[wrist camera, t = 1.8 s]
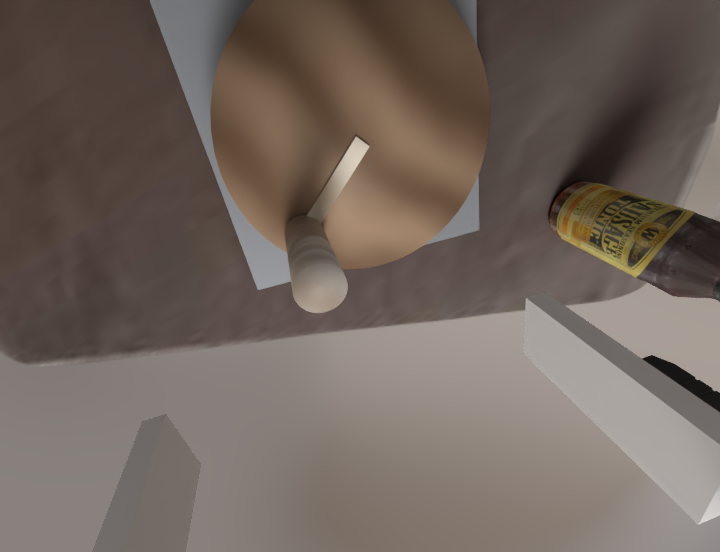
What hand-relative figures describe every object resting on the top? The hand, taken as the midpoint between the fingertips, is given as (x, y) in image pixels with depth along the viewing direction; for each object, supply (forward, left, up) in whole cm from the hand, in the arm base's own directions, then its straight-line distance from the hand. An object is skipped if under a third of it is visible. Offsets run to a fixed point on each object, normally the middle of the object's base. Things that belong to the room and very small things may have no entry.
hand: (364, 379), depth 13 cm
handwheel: (-6, +5, -19) cm, 21 cm away
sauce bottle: (+6, +27, -21) cm, 35 cm away
